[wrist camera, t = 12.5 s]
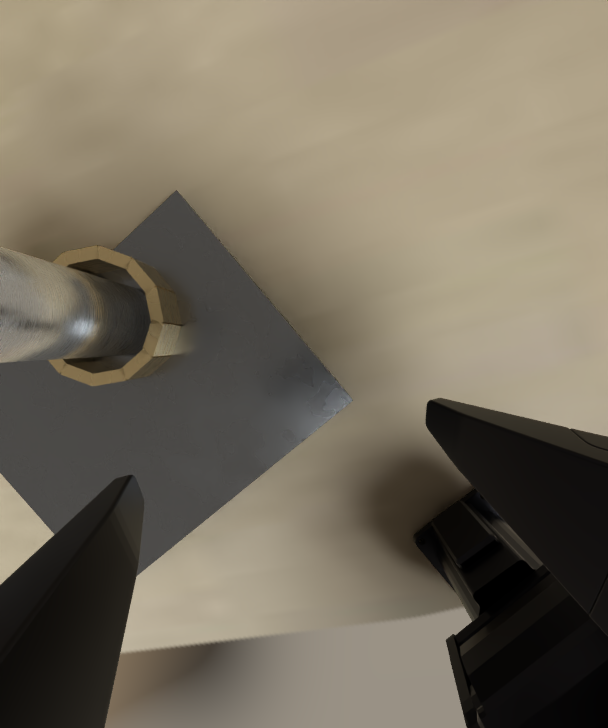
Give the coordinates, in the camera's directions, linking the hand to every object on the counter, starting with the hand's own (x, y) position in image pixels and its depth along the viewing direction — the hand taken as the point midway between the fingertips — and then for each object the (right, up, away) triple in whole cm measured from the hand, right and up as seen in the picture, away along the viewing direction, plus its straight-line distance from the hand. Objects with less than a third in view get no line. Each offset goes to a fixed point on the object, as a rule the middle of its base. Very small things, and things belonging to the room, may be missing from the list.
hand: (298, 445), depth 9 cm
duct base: (-12, 0, +14) cm, 18 cm away
